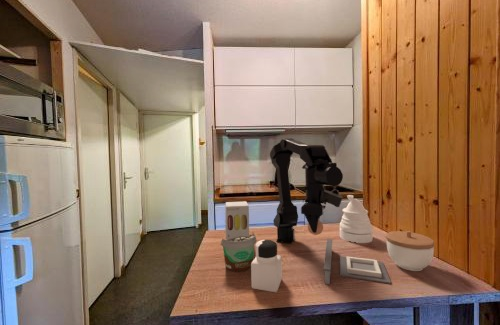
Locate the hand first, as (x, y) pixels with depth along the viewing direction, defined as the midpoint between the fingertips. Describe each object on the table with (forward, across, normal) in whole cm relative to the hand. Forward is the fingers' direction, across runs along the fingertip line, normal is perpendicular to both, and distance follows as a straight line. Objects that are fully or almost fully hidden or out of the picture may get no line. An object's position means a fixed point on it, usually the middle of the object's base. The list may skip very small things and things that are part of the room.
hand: (315, 229), depth 76 cm
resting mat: (+11, +1, -14) cm, 18 cm away
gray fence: (+11, 0, -4) cm, 12 cm away
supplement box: (+11, +7, +32) cm, 35 cm away
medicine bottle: (+12, -17, +12) cm, 24 cm away
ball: (-1, 0, 0) cm, 1 cm away
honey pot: (+11, +30, -13) cm, 34 cm away
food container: (+11, -11, +22) cm, 27 cm away
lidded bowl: (+12, +8, -28) cm, 31 cm away
